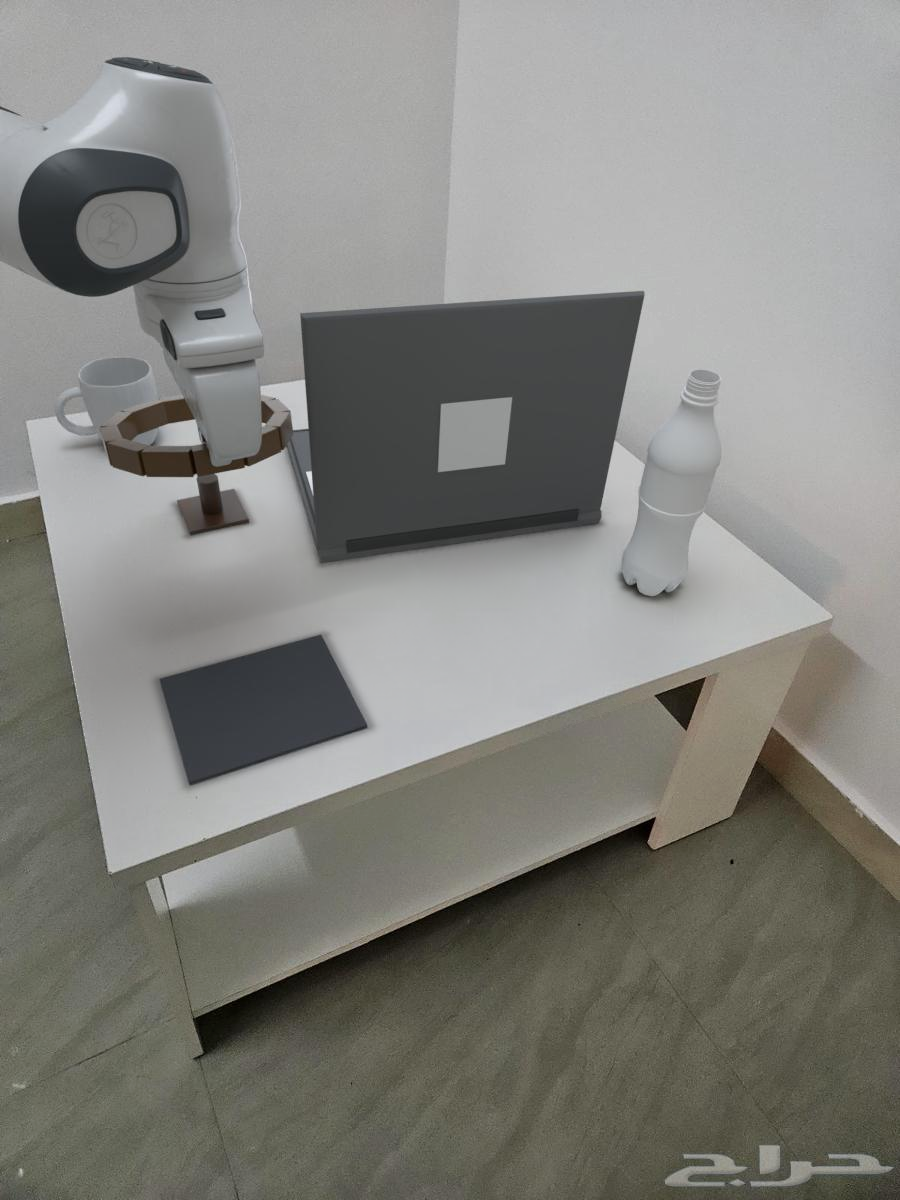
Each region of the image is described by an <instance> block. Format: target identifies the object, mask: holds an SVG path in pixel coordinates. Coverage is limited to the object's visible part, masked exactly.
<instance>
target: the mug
mask: <svg viewBox="0 0 900 1200" xmlns="http://www.w3.org/2000/svg"><path fill="white" fill-rule="evenodd" d="M77 377H78V378H77V379H78V384H79V386H74V387H71V388H68V389H66V390H64V391H63V392H62V393H60V395H58V397H57V399H56V401H55V405H54V414H55V418H56V419H57V422H58V423H59V424H60V425H61V427H62V428H63V429H64V430H66V431H67V432H69V433H71V434H74V435H76V436H80V437H82V436H83V437H88V436H93V435H97V436H98V437H99V438H100V440H101V441H102V437H101V433H100V429H99V428H100V426H101V425H102V424H104V423H105V422H106V421H107V420H109V419H110V418H111V417H112V416H114V415H115V414H116V413H117V412H121V410H124V409H127V408H130V407H133V406H136V405H139V404H142V403H145V402H148V401H151V400H154V399H157V400H159V398H158V394H157V393H158V392H157V387H156V382H155V377H154V372H153V369H152V367H151V364H150V363H149V362H148V361H147V360H145V359H144V358H140V357H135V356H129V355H127V356H125V355H122V356H121V355H115V356H106V357H102V358H98V359H95V360H92V361H89V362H87V363H86V364H85V365H83V366H82V367H81V368H80V369H79V371H78V376H77ZM75 398H82V400H83V402H84V406H85V409H86V411H87V414H88V416H89V418H90V422H91V424H92V425H79V424H76V423H73V422H71V421H70V420H69V419H68V418H67V416H66V414H65V411H64V410H65V407H66V405H67V403H68V402H69V401H71V400H72V399H75ZM158 433H159V427H158V428H155V429H153V430H150V431H147V432H145V433H142V434H139V435H137V436H136V437H135V438H134V439H133V440H132V441H134V442H138V443H142V444H145V445H149V446H152V444H154V442H155V441H156V439H157V435H158Z"/></svg>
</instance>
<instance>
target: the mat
mask: <svg viewBox="0 0 900 1200" xmlns="http://www.w3.org/2000/svg"><path fill="white" fill-rule="evenodd" d="M159 682H160V685H161V689H162V693H163V697H164V700H165V703H166V707H167V710H168V714H169V718H170V721H171V724H172V728H173V732H174V735H175V739H176V743H177V746H178V749H179V753H180V756H181V760H182V763H183V765H184V766H183V767H184V771H185V774H186V778H187V781H188V784H189V785H190V786H191V785H194V784H197V783H200V782H203V781H206V780H210V779H212V778H217V777H219V776H222V775H225V774H228V773H231V772H235V771H238V770H241V769H244V768H247V767H249V766H253V765H256V764H260V763H262V762H265V761H269V760H271V759H274V758H277V757H281V756H284V755H286V754H290V753H292V752H296V751H299V750H302V749H306V748H308V747H311V746H315V745H318V744H321V743H324V742H328V741H330V740H333V739H337V738H339V737H342V736H345V735H346V736H347V735H348V734H352V733H355V732H359V731H361V730H364V729H367V728H368V723H367V721H366V720H365V717H364V716H363V713H362V712H361V709H360V707H359V705H358V704H357V702H356V700H355V697H354V696H353V694H352V692H351V690H350V688H349V686H348V684H347V682H346V680H345V678H344V676H343V674H342V672H341V670H340V669H339V666H338V664H337V663H336V661H335V659H334V656H333V654H332V653H331V651H330V649H329V647H328V645H327V643H326V641H325V639H324V637H323V635H322V634H317V635H314V636H310V637H306V638H303V639H298V640H295V641H292V642H287V643H285V644H280V645H277V646H274V647H269V648H266V649H263V650H259V651H255V652H252V653H247V654H244V655H241V656H237V657H233V658H229V659H226V660H223V661H219V662H215V663H212V664H207V665H205V666H201V667H197V668H195V669H190V670H186V671H183V672H179V673H175V674H172V675H168V676H165V677H160V678H159Z"/></svg>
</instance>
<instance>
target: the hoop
mask: <svg viewBox="0 0 900 1200" xmlns="http://www.w3.org/2000/svg"><path fill="white" fill-rule="evenodd" d="M157 399H158V400H157ZM157 399H154V400H151V401H148V402H145V403H142V404H139V405H136V406H133V407H130V408H127V409H124V410H121V412H117V413H116V414H115V415H114V416H112V417H111V418H110V419H109V420H107V421H106V422H105V423H104V424H102V425H101V426H100V428H99V429H100V433H101V437H102V440H101V442H102V445H103V449H104V452H105V455H106V457H107V461H108V463H109V465H110V467H112V468H114V469H117V470H119V471H123V472H126V473H130V474H132V475H133V474H134V475H137V476H140V477H145V476H146V478H194V477H195V476H197V477H200V476H205V475H210V474H220V473H226V472H231V471H236V470H241V469H245V468H246V467H252V466H253V465H256V464H258V463H261V462H262V461H264V460H267V459H269V458H271V457H273V456H275V455H278V454H279V453H282V451H284V450H285V449H286V448H287V444H288V442H289V441H290V439H291V438H292V436H293V430H294V427H293V422H292V421H293V420H292V412H291V410H290V408H288V407H287V406H286V405H285V404H284V403H283V402H282V401H281V400H280V399H279V398H277V397H273V396H268V395H263V394H261V415H262V424H265V425H262V442H261V446H260V449H259V452H258V453H257V454H256V455H254V456H250V457H245V458H240V459H235V460H232V462H231V463H230V464H228V465H224V466H218V467H216V466H213V464H212V463H211V461H210V459H209V457H208V451H207V445H206V443H205V444H202V443H200V444H195V445H145V444H142V443H138V442H134V441H132V440H133V439H134V438H135V437H136V436H137V435H139V434H142V433H145V432H147V431H150V430H153V429H155V428H158V429H159V428H161V427H164V426H166V425H169V424H170V425H171V424H177V423H183V422H187V421H188V422H189V421H194V420H195V418H194V416H193V414H192V412H191V410H190V408H189V406H188V404H187V403H186V401H185V399H184V397H183V395H182V394H177V395H171V396H163V397H159V398H157ZM195 421H196V420H195Z"/></svg>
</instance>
